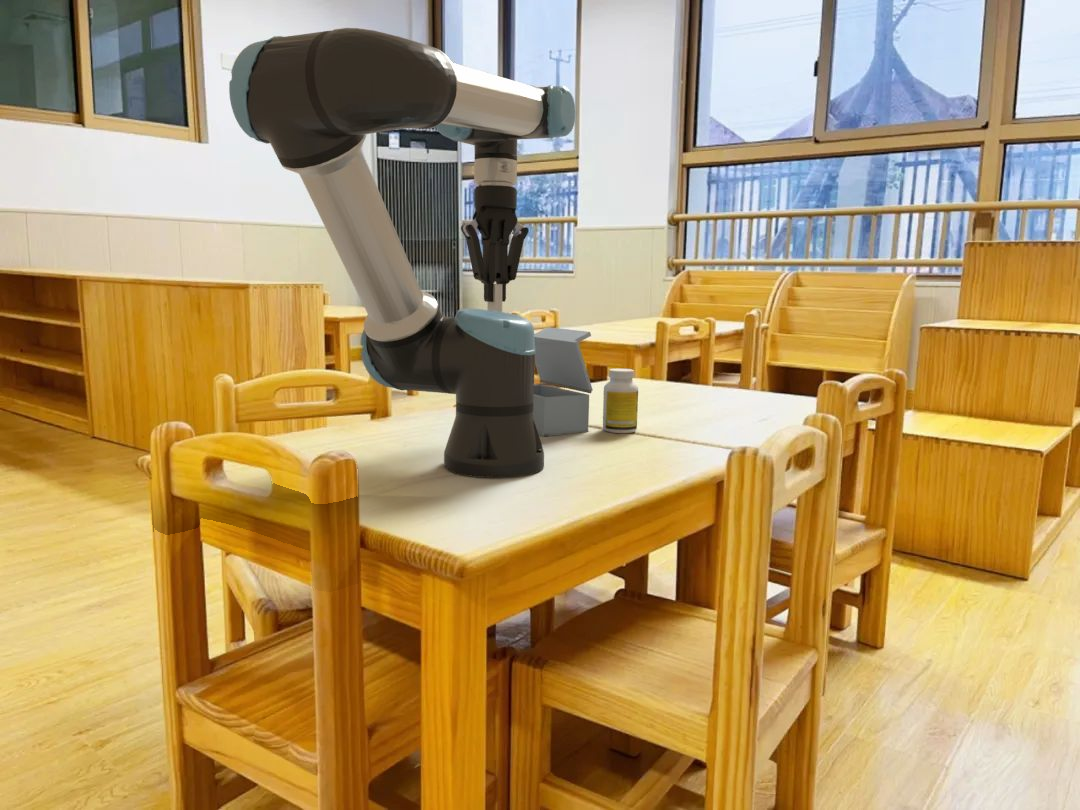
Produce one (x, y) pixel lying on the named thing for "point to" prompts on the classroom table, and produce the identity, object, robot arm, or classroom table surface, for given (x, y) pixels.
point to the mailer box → (560, 411)
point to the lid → (561, 358)
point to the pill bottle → (620, 402)
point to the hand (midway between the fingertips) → (494, 320)
